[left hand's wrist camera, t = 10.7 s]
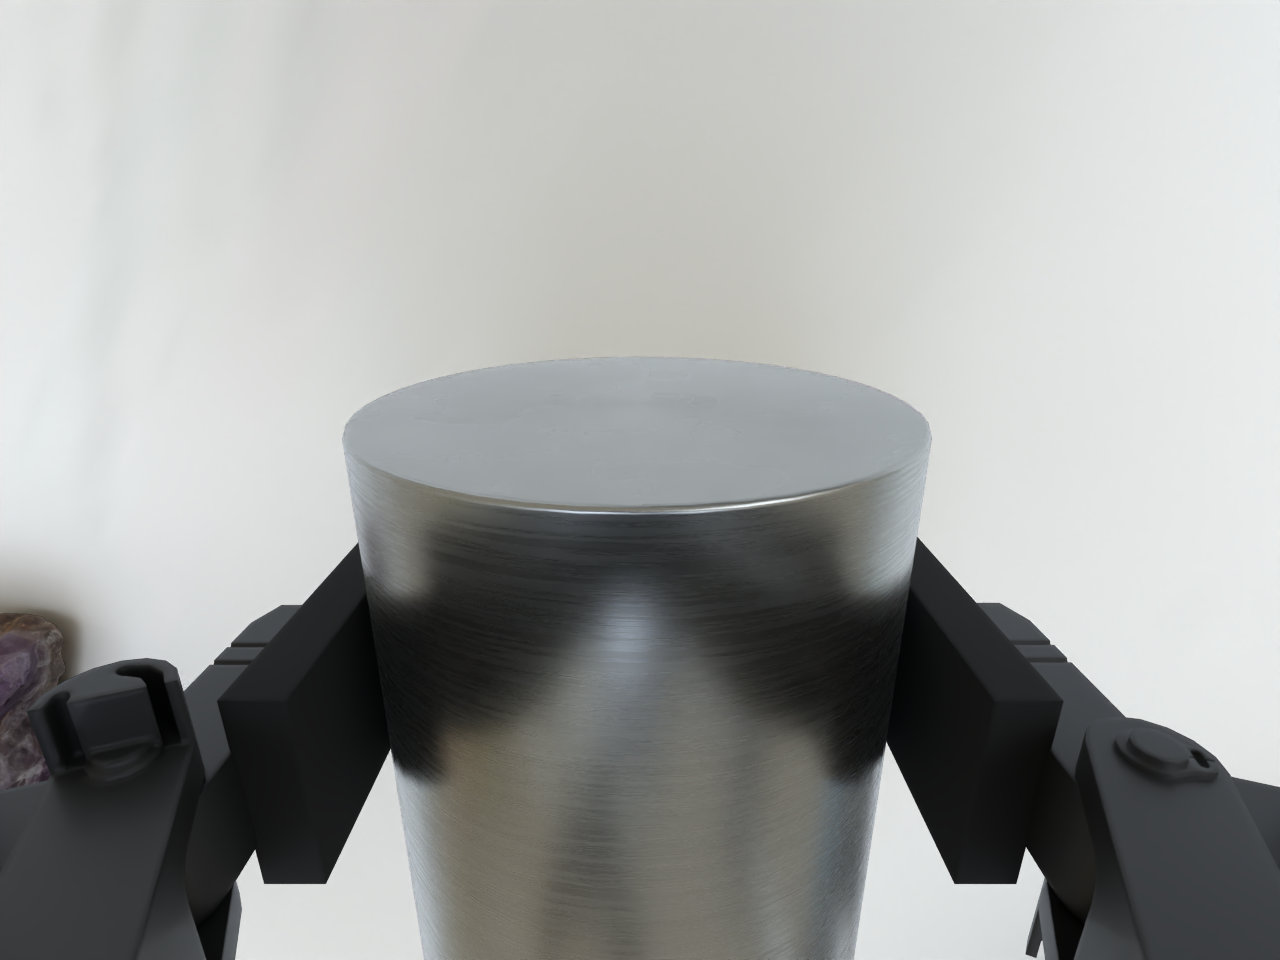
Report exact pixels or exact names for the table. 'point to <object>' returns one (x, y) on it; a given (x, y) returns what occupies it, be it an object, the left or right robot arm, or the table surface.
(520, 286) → the table surface
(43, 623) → the rock
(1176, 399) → the table surface
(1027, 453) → the table surface
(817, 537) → the rod
